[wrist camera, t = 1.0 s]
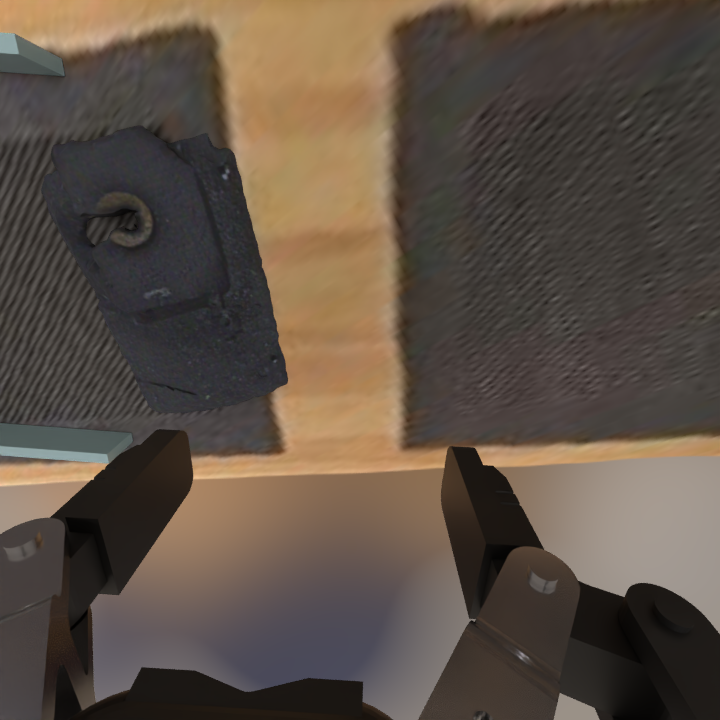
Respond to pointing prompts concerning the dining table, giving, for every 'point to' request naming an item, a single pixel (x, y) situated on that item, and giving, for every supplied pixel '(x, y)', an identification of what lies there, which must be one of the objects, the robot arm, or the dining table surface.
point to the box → (40, 440)
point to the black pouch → (172, 265)
